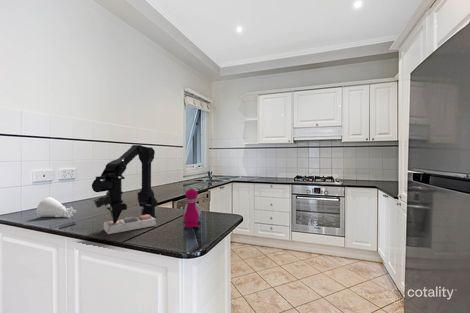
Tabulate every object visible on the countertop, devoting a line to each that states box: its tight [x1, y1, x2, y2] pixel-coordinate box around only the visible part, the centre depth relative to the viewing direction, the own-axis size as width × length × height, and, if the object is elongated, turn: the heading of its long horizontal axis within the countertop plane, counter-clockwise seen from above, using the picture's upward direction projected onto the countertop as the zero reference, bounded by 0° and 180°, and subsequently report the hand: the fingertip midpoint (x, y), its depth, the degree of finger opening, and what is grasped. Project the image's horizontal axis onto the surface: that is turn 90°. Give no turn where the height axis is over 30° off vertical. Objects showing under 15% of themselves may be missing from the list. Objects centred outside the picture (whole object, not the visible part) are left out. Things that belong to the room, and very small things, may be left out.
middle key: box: [123, 216, 137, 223], centre depth 116 cm, size 5×5×2 cm
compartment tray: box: [103, 216, 157, 235], centre depth 116 cm, size 21×9×3 cm, turn 129°
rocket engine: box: [36, 196, 78, 219], centre depth 138 cm, size 12×12×18 cm
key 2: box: [138, 214, 151, 221], centre depth 121 cm, size 5×5×2 cm
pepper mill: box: [183, 185, 200, 229], centre depth 118 cm, size 7×7×20 cm
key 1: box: [108, 221, 121, 226], centre depth 112 cm, size 5×5×2 cm
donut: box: [183, 202, 202, 217], centre depth 130 cm, size 10×4×10 cm, turn 68°
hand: (114, 222), depth 112 cm, fingers closed, pressing on key 1
